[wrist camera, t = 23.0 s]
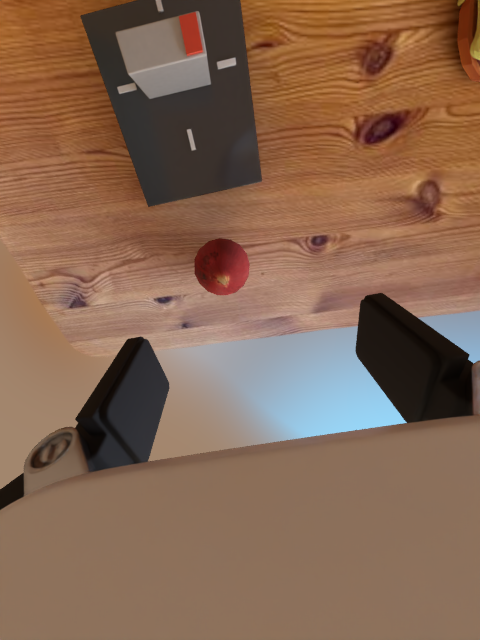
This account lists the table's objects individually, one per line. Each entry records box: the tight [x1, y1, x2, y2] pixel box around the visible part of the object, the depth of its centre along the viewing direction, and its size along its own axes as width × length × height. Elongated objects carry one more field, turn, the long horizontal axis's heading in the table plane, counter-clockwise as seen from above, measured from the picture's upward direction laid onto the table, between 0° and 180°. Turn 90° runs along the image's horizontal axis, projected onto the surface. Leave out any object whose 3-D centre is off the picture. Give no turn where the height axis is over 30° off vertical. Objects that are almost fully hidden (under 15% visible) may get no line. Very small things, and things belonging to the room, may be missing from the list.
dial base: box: [81, 0, 262, 207], centre depth 19 cm, size 13×11×3 cm
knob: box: [116, 11, 211, 99], centre depth 15 cm, size 5×2×5 cm, turn 101°
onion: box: [195, 238, 250, 295], centre depth 24 cm, size 6×6×8 cm
